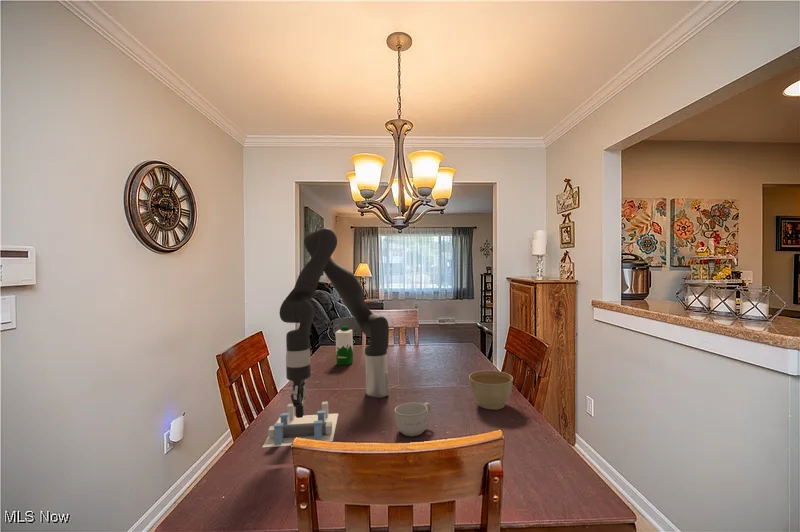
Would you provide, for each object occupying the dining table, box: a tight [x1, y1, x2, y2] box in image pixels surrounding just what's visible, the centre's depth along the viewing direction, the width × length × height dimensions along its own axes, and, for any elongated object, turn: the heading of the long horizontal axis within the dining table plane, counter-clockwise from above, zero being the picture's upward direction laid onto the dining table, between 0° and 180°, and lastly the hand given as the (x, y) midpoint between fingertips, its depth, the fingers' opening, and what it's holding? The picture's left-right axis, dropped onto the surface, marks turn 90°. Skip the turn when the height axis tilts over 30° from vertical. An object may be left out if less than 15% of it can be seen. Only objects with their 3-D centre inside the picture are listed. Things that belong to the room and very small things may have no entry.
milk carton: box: [334, 325, 354, 366], centre depth 197 cm, size 9×9×20 cm
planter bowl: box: [468, 369, 514, 411], centre depth 136 cm, size 16×16×11 cm
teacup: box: [394, 401, 432, 437], centre depth 117 cm, size 14×11×8 cm
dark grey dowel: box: [267, 422, 332, 438], centre depth 115 cm, size 20×4×4 cm, turn 95°
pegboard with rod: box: [261, 400, 339, 449], centre depth 119 cm, size 21×21×6 cm
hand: (299, 416), depth 115 cm, fingers closed
